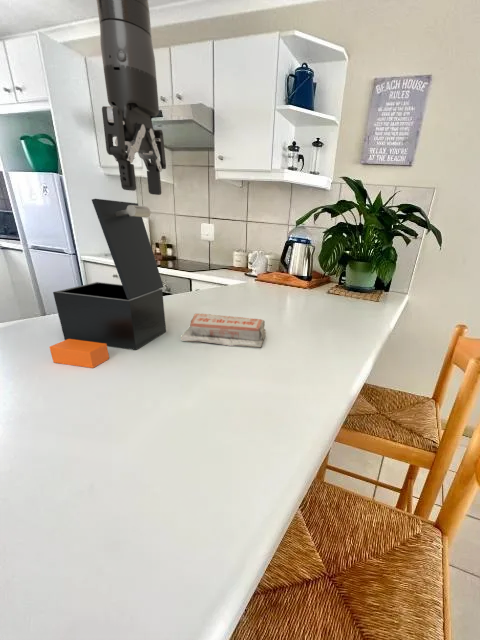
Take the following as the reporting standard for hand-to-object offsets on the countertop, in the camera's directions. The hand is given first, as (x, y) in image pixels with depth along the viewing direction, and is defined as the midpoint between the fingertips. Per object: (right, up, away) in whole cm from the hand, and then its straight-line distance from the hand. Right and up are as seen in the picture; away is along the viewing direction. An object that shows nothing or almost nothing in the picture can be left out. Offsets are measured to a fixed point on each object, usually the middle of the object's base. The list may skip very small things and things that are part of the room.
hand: (143, 192), depth 57 cm
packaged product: (+11, -24, +18) cm, 32 cm away
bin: (-11, -24, +13) cm, 29 cm away
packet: (-11, -30, +1) cm, 32 cm away
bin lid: (-4, -8, +5) cm, 11 cm away
